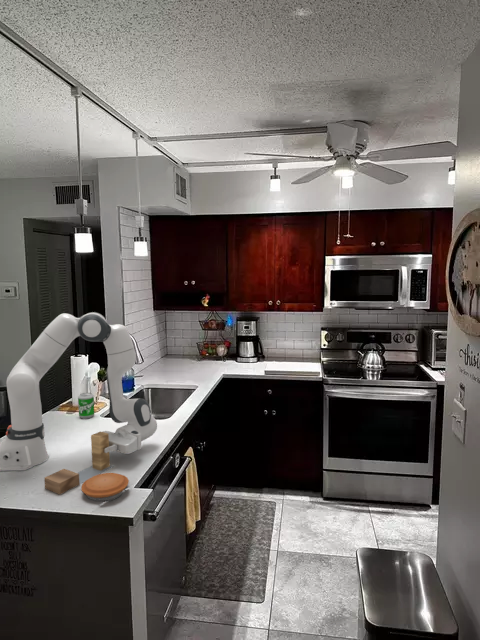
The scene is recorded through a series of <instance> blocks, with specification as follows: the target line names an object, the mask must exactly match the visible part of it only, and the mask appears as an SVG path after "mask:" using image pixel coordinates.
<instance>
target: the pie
mask: <svg viewBox="0 0 480 640" xmlns="http://www.w3.org/2000/svg"><path fill="white" fill-rule="evenodd" d="M129 481H130V480H129V478H128V477H127V476H126V475H124V474H121V473H115V472H103V473H101V474H99V475H96V476H93V477H92V478H90V479H88V480H86V481H85V482H84V483H82V484H81V488H80V490H81V491H82V493H83V494H84V495H86V496H87V498H88V499H90V500H92V501H99V502H101V501H102V502H103V503H106V502H110V501H113V500H115V499H118V498H119V497H120V496H121V495H122V494H123V492H124V491H125V489H126V488H127V487H128V486H129V483H130V482H129Z"/></svg>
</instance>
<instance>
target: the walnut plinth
mask: <svg viewBox="0 0 480 640" xmlns="http://www.w3.org/2000/svg"><path fill="white" fill-rule="evenodd" d="M43 481H44V489H45V490H47V491H50V492H53V493H55V494H58V495H62V493H63V494H64V493H66V492H68V491H70V490H72V489H75V488H76V487H78V486H80V485H81V484H79V474H78V472H75V471H72V470H69V469H67V468H62V469H59V470H58V471H56V472H54V473H52V474H48V475H47V476H45V477H44V480H43Z"/></svg>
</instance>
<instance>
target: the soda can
mask: <svg viewBox="0 0 480 640" xmlns="http://www.w3.org/2000/svg"><path fill="white" fill-rule="evenodd" d="M94 397H95V395H94V394H93V393H92V392H82V393H80V394H78V396H77V399H78V401H77V403H78V404H77V405H78V417H79V418H80V419H83V420H86V419H91V418H93V417H94V415H95V399H94Z"/></svg>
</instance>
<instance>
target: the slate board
mask: <svg viewBox="0 0 480 640" xmlns="http://www.w3.org/2000/svg"><path fill="white" fill-rule="evenodd" d="M115 467H116V466H114V465H111V464H110V466H109V467H107V468H105V469H103V470H101V471H100V470H97V469H94V468H93V467H92V465H91V466H89V467H86V468H84V469H82V470H80V471H78V472H77V473H78V474H79V484H80V485H82V484H83V483H84V482H85V481H86V480H88V479H90V478H92V477H93V476H96V475H99V474H103V473H106V472H107V471H108V470H111V469H113V468H115ZM62 494H64V493H62ZM62 494H61V495H62Z"/></svg>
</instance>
